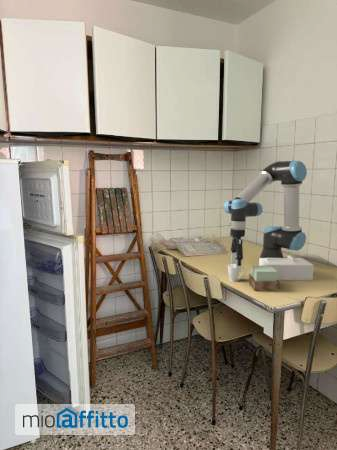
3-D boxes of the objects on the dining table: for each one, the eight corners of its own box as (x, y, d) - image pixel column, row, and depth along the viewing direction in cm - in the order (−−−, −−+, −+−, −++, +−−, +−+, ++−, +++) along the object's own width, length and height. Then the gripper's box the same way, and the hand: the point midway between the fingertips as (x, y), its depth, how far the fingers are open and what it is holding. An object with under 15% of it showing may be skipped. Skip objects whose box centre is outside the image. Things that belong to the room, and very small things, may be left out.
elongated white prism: (312, 280, 167) (314, 260, 165) (266, 280, 167) (267, 260, 165) (300, 272, 181) (302, 254, 180) (258, 272, 181) (259, 254, 179)
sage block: (270, 274, 161) (271, 265, 160) (276, 281, 151) (277, 271, 150) (251, 274, 161) (251, 265, 160) (256, 281, 151) (256, 271, 150)
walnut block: (271, 283, 162) (272, 274, 161) (279, 292, 150) (279, 282, 149) (248, 283, 162) (249, 274, 162) (254, 291, 151) (254, 282, 150)
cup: (224, 278, 169) (225, 264, 168) (241, 277, 171) (242, 263, 170) (229, 282, 162) (230, 267, 161) (247, 281, 164) (248, 266, 163)
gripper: (226, 225, 175) (225, 261, 178) (235, 232, 150) (233, 274, 153) (240, 225, 174) (238, 261, 178) (250, 232, 150) (248, 274, 153)
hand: (235, 267), depth 165 cm, fingers open, 13 cm apart
